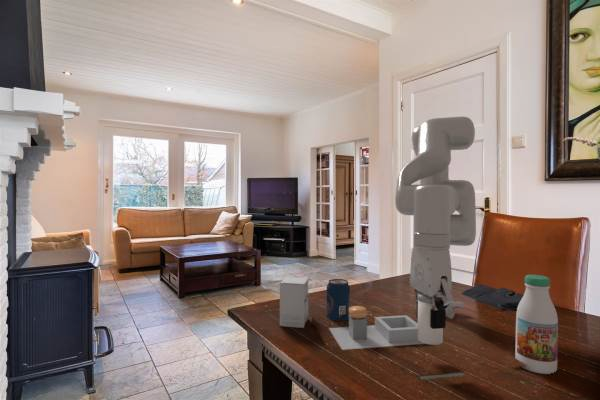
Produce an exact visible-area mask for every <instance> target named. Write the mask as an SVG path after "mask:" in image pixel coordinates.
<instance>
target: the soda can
mask: <svg viewBox="0 0 600 400" xmlns="http://www.w3.org/2000/svg"><path fill="white" fill-rule="evenodd" d="M325 305H326V309H325V311H326V314H325V315H326V318H327V319H329V320H332V321H336V322H338V321H347V320H349V308H350V307H351V287H350V285H349V281H348V280H346V279H343V278H332V279H329V280H328V282H327V285H326V304H325Z"/></svg>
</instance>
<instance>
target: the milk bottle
mask: <svg viewBox="0 0 600 400" xmlns="http://www.w3.org/2000/svg"><path fill="white" fill-rule="evenodd" d="M524 286H525V291H524V293H523V294H524V296H523V297H522V299H521V301H520V303H519V305H518V308H517V311H516V315H515V317H516V318H515V342H514V343H515V349H514V350H515V353H514V355H515V356H514V357H515V360H518V362H520V363H522V364H523V365H520V367H521V368H523V369H524V370H527V371H529V372H531V373H535V374H540V375H552V374H551V373H553V374H555V373H556V372H557V370H558V348H559V347H558V345H559V344H558V343H559V342H558V341H559V324H558V323H559V319H558V318H559V317H558V313H557V310H556V308H555V305H554V303H553V301H552V299H551V296H550V293H549V289H551V279H550V278H549V277H547V276H545V275H538V274H527V275H525V276H524ZM554 372H555V373H554Z"/></svg>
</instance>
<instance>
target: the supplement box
mask: <svg viewBox="0 0 600 400" xmlns="http://www.w3.org/2000/svg"><path fill="white" fill-rule="evenodd" d="M308 320H309V278H308V277H293V276H292V277H290V276H286V277H284V278H283V280H282V281H280V282H279V326H280V327H286V328H287V327H290V328H300V329H301V328H302V329H304V328H305V325H306V323H307V321H308Z"/></svg>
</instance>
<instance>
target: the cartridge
mask: <svg viewBox="0 0 600 400" xmlns="http://www.w3.org/2000/svg"><path fill="white" fill-rule="evenodd" d="M437 295H441V294H440V293H437ZM436 300H437V302H438V301H439V300H441V298H436ZM430 309H433V308H432V301H431V297H429V296H427V295H425V294H423V293H421V292H418V318H417V324H418V340H419V341H421V342H423V343H426V345H430V346H431V345H432V346H436V345H442V344H443V342H444V341H443V340H444V339H443V337H444V328H439V329H432V328H431V327H430Z"/></svg>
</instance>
